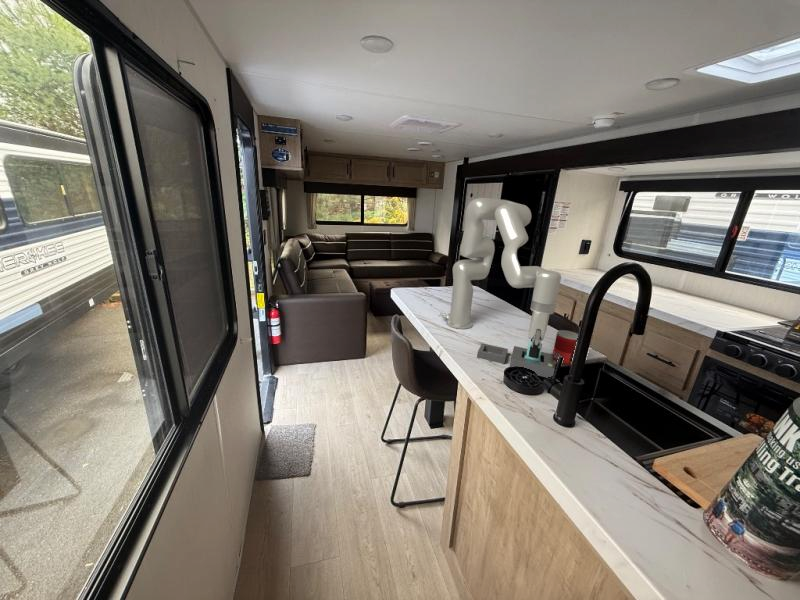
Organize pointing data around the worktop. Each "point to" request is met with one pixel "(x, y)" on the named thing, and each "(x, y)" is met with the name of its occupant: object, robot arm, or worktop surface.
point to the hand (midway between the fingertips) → (533, 352)
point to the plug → (528, 352)
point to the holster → (492, 353)
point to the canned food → (565, 345)
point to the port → (533, 362)
